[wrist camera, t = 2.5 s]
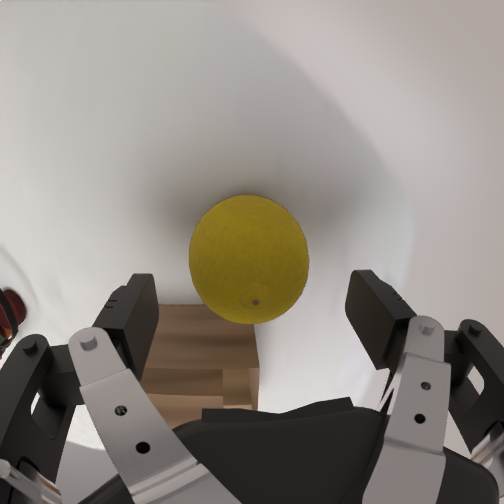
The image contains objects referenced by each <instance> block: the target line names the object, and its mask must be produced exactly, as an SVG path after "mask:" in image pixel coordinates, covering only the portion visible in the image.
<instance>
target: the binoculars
mask: <svg viewBox="0 0 504 504" xmlns="http://www.w3.org/2000/svg"><path fill="white" fill-rule="evenodd" d="M24 319H25V308H24V305H23V303H22V301H21V299H20V298H19V296H18V295H17V294H16V293H14V292H13V291H10V290H6V291H4V292H2V290H1V289H0V359H2V354H3V353H4V352H5V349H6V348H7V347H8V346H10V344H11V342H12V340H13V339H14V338H15V336H16V334H17V333H18V325H20V324H21V323H22V322H23V321H24ZM11 333H12V338H10V339H9V340H8V338H9V336H10V335H11Z"/></svg>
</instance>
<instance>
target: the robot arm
mask: <svg viewBox="0 0 504 504" xmlns="http://www.w3.org/2000/svg"><path fill="white" fill-rule="evenodd" d="M345 312H346V316H347V318H348V320H349V321H350V323H351V325H352V327H353V328H354V330H355V332H356V334H357V335H358V337H359V339H360V341H361V342H362V344H363V346H364V348H365V350H366V351H367V353H368V355H369V357H370V359H371V361H372V362H373V364H374V366H375V368H376V370H380V369H385V368H389V370H390V371H389V373H388V375H387V378H386V382H385V384H384V387H383V391H382V394H381V397H380V400H379V403H378V405H377V408H376V410H373V409H369V408H364V407H357V406H353V403H352V401H351V399H350V397H345V398H339V399H333V400H326V401H319V402H315V403H312V404H309V405H306V406H303V407H300V408H297V409H294V410H291V411H288V412H285V413H280V414H277V413H268V412H261V411H254V410H248V409H242V408H223V409H213V408H202V417H201V419H198V420H193V421H190V422H186V423H184V424H181V425H179V426H177V427H175V428H173V429H171V428H170V427H169V426H168V424H167V423H166V422H165V420H164V419H163V418H162V416H161V415H160V414H159V412H158V411H157V409H156V408H155V406H154V405H153V404H152V402H151V401H150V399H149V398H148V396H147V395H146V393H145V392H144V390H143V389H142V387H141V386H140V384H139V382H138V381H141V378H142V374H143V371H144V367H145V364H146V360H147V357H148V354H149V350H150V347H151V344H152V341H153V337H154V334H155V331H156V328H157V325H158V321H159V306H158V300H157V295H156V289H155V282H154V277H153V275H152V274H133V275H132V277H131V278H130V280H129V282H128V283H127V285H126V286H120V287H119V288H118V289H116V290H115V291H114V292H113V293H112V294H111V296H110V297H109V299H108V301H107V302H106V304H105V305H104V308H103V309H102V310H101V312H100V314H99V315H98V317H97V319H96V320H95V322H94V324H93V325H92V327H89V328H85V329H82V330H80V331H78V332H76V333H75V334H74V335H73V336H72V337H71V338H70V340H69V343H68V344H66V345H58V346H50V345H49V343H48V341H47V339H46V338H45V337H44V336H43V335H40V334H32V335H29V336H26V337H24V338H23V339H21V340H20V341H19V342H18V343H17V344H16V346H15V347H14V349H13V351H12V352H11V354H10V355H9V357H8V358H7V360H6V362H5V363H4V365H3V367H2V368H1V370H0V504H63V503H62V498H61V494H60V492H59V490H58V489H57V487H56V486H55V481H56V477H57V472H58V468H59V464H60V459H61V456H62V452H63V448H64V444H65V441H66V437H67V434H68V430H69V427H70V424H71V421H72V417H73V414H74V411H75V408H76V405H84V404H85V405H86V407H87V410H88V412H89V414H90V417H91V419H92V421H93V424H94V426H95V428H96V430H97V432H98V435H99V437H100V439H101V441H102V443H103V445H104V447H105V449H106V451H107V453H108V455H109V457H110V458H111V460H112V462H113V464H114V466H115V468H116V469H117V471H118V474H116V475H115V476H114V477H113V478H111V479H110V480H109V481H107V482H106V483H105V484H103V485H102V486H101V487H100V488H98V489H97V490H96V491H94V492H93V493H92V494H90V495H89V496H88V497H86V498H85V499H83V500H82V501H81V502H80V503H78V504H499V498H501V497H503V496H504V348H503V346H502V345H501V344H500V343H499V342H498V340H497V339H496V338H495V337H494V336H493V335H492V334H491V332H490V331H489V330H488V329H487V328H486V327H485V326H484V325H482V324H481V323H480V322H478V321H475V320H471V319H466V320H463V321H462V322H461V324H460V326H459V328H458V330H457V331H449V330H444V328H443V326H442V325H441V324H440V323H439V322H438V321H437V320H435V319H433V318H431V317H428V316H417V314H416V313H415V312H414V311H413V310H412V309H411V308H410V307H409V305H408V304H407V303H406V302H405V301H404V300H402V297H401V296H400V295H399V294H397V292H396V291H395V290H394V289H393V288H392V286H390V285H388V284H387V283H385V282H383V281H382V280H380V279H379V278H378V277H377V276H376V275H375V273H374V272H373V271H372V270H354V271H353V272H352V274H351V277H350V282H349V288H348V293H347V297H346V302H345ZM473 366H475V367H476V369H477V370H478V372H479V373H480V374H481V376H482V377H483V379H484V389H483V391H482V393H481V394H480V395H479V394H478V392H477V391H476V389H475V388H474V386H473V384H472V383H471V381H470V380H469V379H468V377H467V376H468V374H469V373H470V371H471V370H472V368H473ZM37 392H38V394H39V395H40V397H39V399H38V402H37V404H36V406H35V409H34V411H33V414H32V415H31V405H32V402H33V400H34V398H35V395H36V393H37ZM448 410H449V412H450V414H451V416H452V417H453V420H454V421H455V423H456V425H457V427H458V429H459V431H460V433H461V435H462V437H463V439H464V441H465V443H466V445H467V447H468V450H469V451H470V453H471V460H470V459H468V458H466V457H464V456H462V455H460V454H458V453H456V452H454V451H452V450H450V449H448V448H446V447H444V446H443V443H444V437H445V430H446V423H447V415H448Z"/></svg>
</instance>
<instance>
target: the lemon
mask: <svg viewBox="0 0 504 504" xmlns="http://www.w3.org/2000/svg"><path fill="white" fill-rule="evenodd" d="M189 268H190V272H191V277H192V281H193V284H194V287H195V289H196V290H197V292H198V294H199V296H200V298H201V299H202V301H203V302H204V303H205V304H206V305H207V306H208V307H209V308H210V309H211V310H212V311H213V312H215V313H216V314H218V315H219V316H221V317H223V318H224V319H227V320H229V321H232V322H235V323H242V324H258V323H263V322H267V321H270V320H273V319H275V318H277V317H279V316H281V315H282V314H284V313H285V312H286V311H287V310H289V309H290V308H291V307H292V306H293V305H294V303H295V302H296V301H297V299H298V298H299V297H300V295H301V294H302V291H303V289H304V287H305V284H306V281H307V277H308V269H309V255H308V249H307V243H306V239H305V237H304V235H303V233H302V230H301V228H300V226H299V224H298V222H297V221H296V220H295V219H294V218H293V217H292V216H291V214H290V213H289V212H288V211H287V210H286V209H285V208H283V207H282V206H280V205H279V204H277V203H276V202H274V201H273V200H270V199H267V198H264V197H261V196H256V195H240V196H234V197H230V198H228V199H225V200H223V201H221V202H219V203H217V204H216V205H215V206H214V207H212V208H211V209H210V210H209V211H207V212H206V213H205V215H204V216H203V217H202V219H201V220H200V222H199V223H198V224H197V226H196V228H195V230H194V233H193V236H192V239H191V242H190V248H189Z"/></svg>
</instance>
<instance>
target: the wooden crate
mask: <svg viewBox="0 0 504 504" xmlns="http://www.w3.org/2000/svg"><path fill="white" fill-rule="evenodd" d="M158 306H159V321H158V325H157V328H156V331H155V334H154V337H153V341H152V344H151V347H150V350H149V354H148V357H147V360H146V364H145V367H144V371H143V374H142V378H141V381H138V382H139V384H140V386H141V387H142V389H143V390H144V392H145V393H146V395H147V396H148V398H149V399H150V401H151V402H152V404H153V405H154V406H155V408H156V409H157V411H158V412H159V414H160V415H161V416H162V418H163V419H164V420H165V422H166V423H167V424H168V426H169V427H170V428H171V429H173V428H175V427H177V426H179V425H181V424H184V423H186V422H190V421H193V420H198V419H201V417H202V408H213V409H223V408H242V409H248V410H254V411H257V409H258V390H259V369H260V367H259V360H258V353H257V346H256V339H255V332H254V325H253V324H242V323H235V322H232V321H229V320H227V319H224V318H223V317H221V316H219V315H218V314H216V313H215V312H213V311H212V310H211V309H210V308H209V307H208V306H207V305H158Z"/></svg>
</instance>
